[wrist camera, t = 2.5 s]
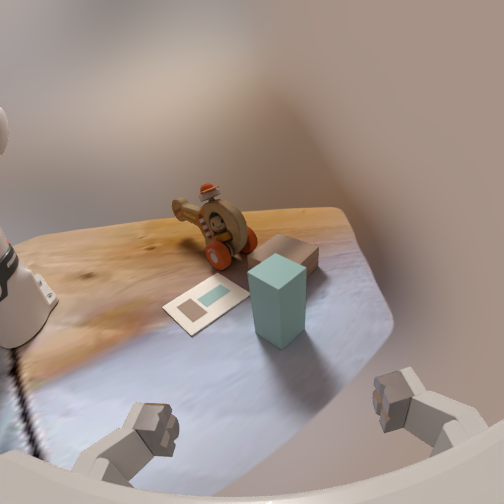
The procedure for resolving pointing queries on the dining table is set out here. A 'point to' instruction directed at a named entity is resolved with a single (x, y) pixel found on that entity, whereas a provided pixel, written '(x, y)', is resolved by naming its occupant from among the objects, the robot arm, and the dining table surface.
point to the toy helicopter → (217, 226)
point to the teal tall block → (278, 299)
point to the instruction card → (205, 303)
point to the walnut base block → (286, 252)
